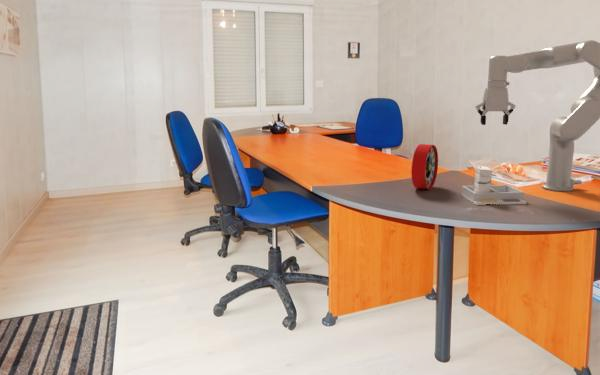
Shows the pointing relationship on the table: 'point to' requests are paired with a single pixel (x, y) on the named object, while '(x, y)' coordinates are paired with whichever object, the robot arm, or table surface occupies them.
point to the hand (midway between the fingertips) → (494, 124)
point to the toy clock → (424, 166)
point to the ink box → (482, 179)
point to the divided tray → (494, 195)
